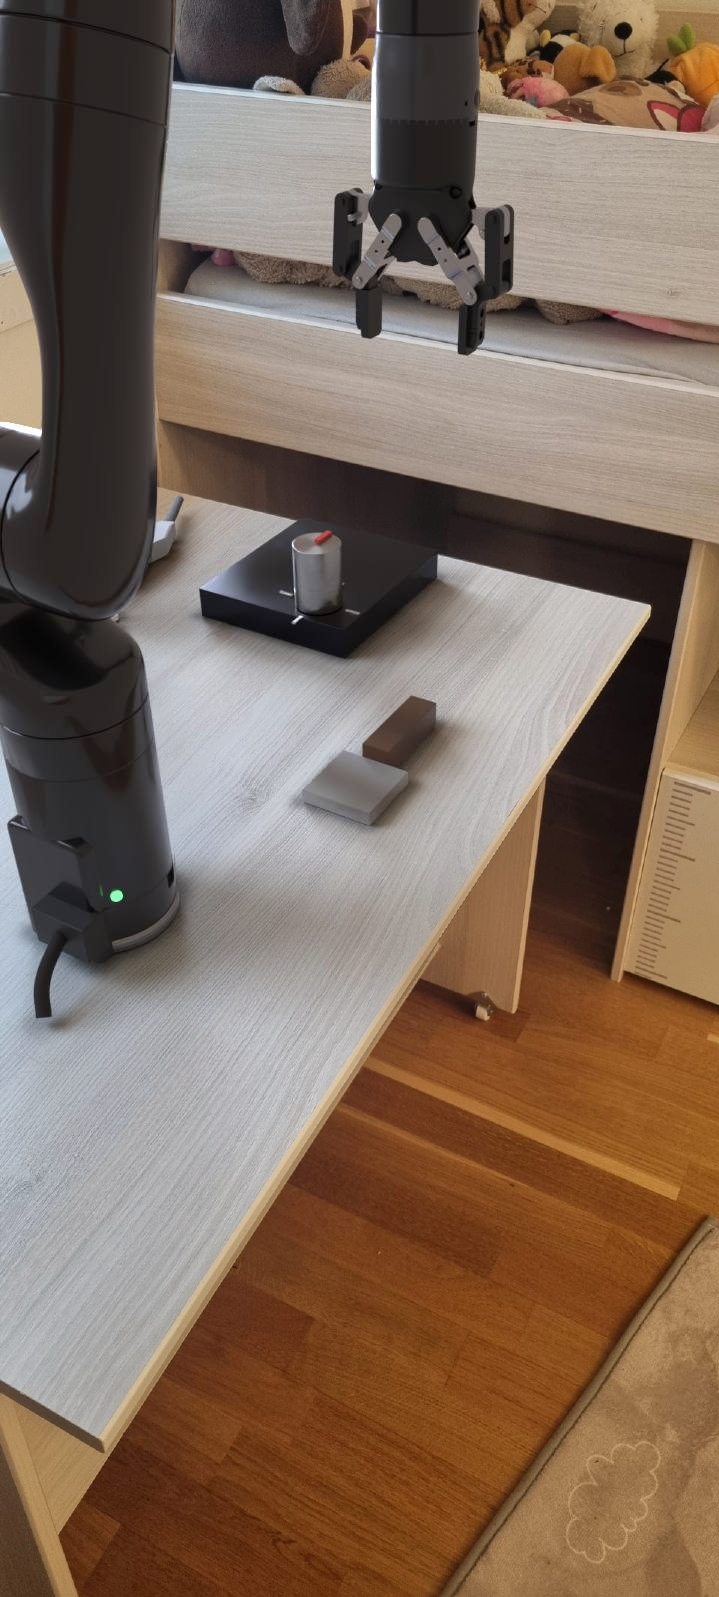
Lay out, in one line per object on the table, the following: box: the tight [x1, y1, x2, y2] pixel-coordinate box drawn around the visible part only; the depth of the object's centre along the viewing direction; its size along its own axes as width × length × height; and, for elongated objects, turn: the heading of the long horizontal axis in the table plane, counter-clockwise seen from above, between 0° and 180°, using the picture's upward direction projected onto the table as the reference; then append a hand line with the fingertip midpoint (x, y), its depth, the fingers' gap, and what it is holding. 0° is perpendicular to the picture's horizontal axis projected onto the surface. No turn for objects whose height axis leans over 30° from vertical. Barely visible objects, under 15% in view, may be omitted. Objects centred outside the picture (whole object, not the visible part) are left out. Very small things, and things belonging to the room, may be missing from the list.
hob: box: [198, 517, 439, 660], centre depth 116 cm, size 19×16×3 cm
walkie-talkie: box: [149, 495, 185, 563], centre depth 125 cm, size 9×4×20 cm
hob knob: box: [292, 531, 343, 615], centre depth 108 cm, size 4×4×6 cm
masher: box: [301, 695, 437, 826], centre depth 94 cm, size 14×6×2 cm, turn 149°
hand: (418, 344), depth 94 cm, fingers open, 8 cm apart
